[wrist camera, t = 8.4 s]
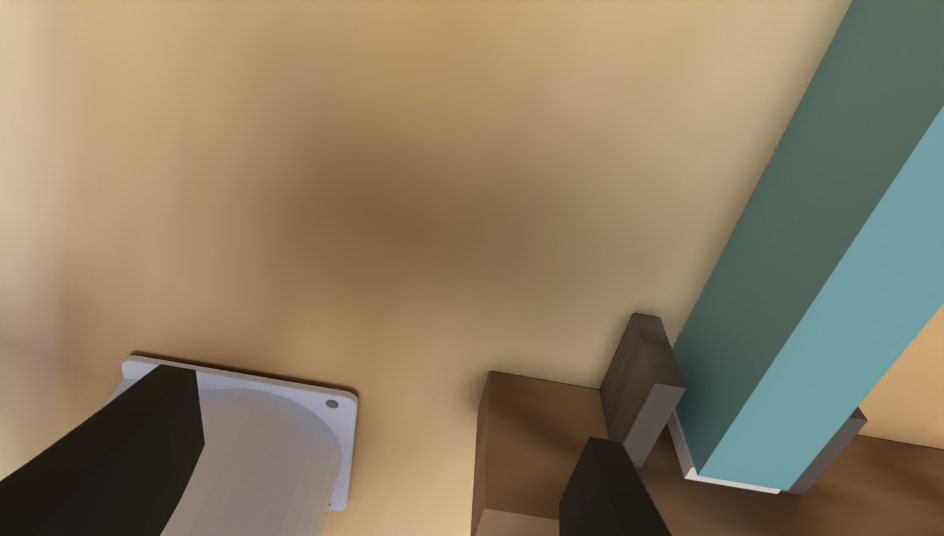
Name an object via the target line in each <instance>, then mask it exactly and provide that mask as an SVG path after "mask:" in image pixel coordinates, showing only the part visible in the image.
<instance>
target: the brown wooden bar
mask: <svg viewBox="0 0 944 536" xmlns="http://www.w3.org/2000/svg"><path fill="white" fill-rule="evenodd" d="M685 389H686V387H685V385H684V382H683V379H682V376H681V374H680V371H679V368H678V366H677V363H676V360H675V357H674V355H673V352H672V349H671V346H670V344H669V341H668V338H667V336H666V333H665V330H664V327H663V325H662V322H661V319H660V318H656V317H651V316H645V315H640V314H635V313H633V316H632V318H631V320H630V322H629V325H628V327H627V329H626V331H625V334H624V336H623V338H622V340H621V343H620V345H619V347H618V349H617V352H616V354H615V356H614V358H613V361H612V363H611V365H610V367H609V370H608V372H607V374H606V376H605V379H604V381H603V383H602V385H601V388H600V390H596V389H590V388H585V387H579V386H573V385H567V384H562V383H556V382H550V381H545V380H539V379H533V378H527V377H522V376H516V375H510V374H504V373H499V372H493V371H489V375H488V379H487V382H486V386H485V389H484V393H483V396H482V400H481V403H480V407H479V411H478V418H477V435H476V452H475V469H474V486H473V504H472V521H471V536H559V502H560V499H561V497H562V495H563V493H564V491H565V489H566V486H567V484H568V482H569V480H570V478H571V476H572V473H573V471H574V469H575V467H576V465H577V463H578V460H579V458H580V456H581V454H582V452H583V450H584V447H585V445H586V443H587V441H588V439H589V437H594V438H600V439H606V440H612V441H618V442H622V444H623V445H624V447H625V449H626V450H627V452H628V454H629V456H630V458H631V460H632V462H633V464H634V466H635V468H636V470H637V472H638V474H639V475H640V477H641V479H642V481H643V483H644V485H645V487H646V489H647V491H648V493H649V494H650V496H651V498H652V500H653V502H654V504H655V506H656V507H657V509H658V511H659V513H660V515H661V517H662V518H663V520H664V522H665V524H666V526H667V527H668V529H669V531H670V533H671V535H672V536H944V450H939V449H934V448H928V447H922V446H916V445H911V444H905V443H899V442H894V441H888V440H882V439H876V438H871V437H865V436H859V435H856V434H857V433H858V431H859V430H860V429H861V428H862V427H863V426H864V424H865V423H866V422H867V421H868V420H867V419H866V417H865V416H864V415H863V413H862V412H861V410H860V409H859V407H857V408H856V409H855V410H854V411H853V413H852V414H851V415H850V416H849V417H848V419H847V420H846V421H845V422H844V423H843V425H842V426H841V427H840V428H839V430H838V431H837V432H836V433H835V434H834V436H833V437H832V438H831V439H830V440H829V442H828V443H827V444H826V445H825V446H824V448H823V449H822V450H821V451H820V452H819V454H818V455H817V456H816V457H815V458H814V460H813V461H812V462H811V463H810V464H809V466H808V467H807V468H806V469H805V470H804V472H803V473H802V474H801V475H800V476H799V478H798V479H797V480H796V481H795V482H794V484H793V485H792V486H791V487H790V488H789V490H788V491H786V490H781V491H780V492H779V493H778V494H774V493H768V492H762V491H756V490H750V489H744V488H738V487H732V486H726V485H720V484H714V483H708V482H702V481H696V480H690V479H684V475H683V472H682V469H681V466H680V462H679V459H678V456H677V453H676V449H675V446H674V443H673V440H672V436H671V433H670V430H669V427H668V423H667V421H668V419H669V418H670V416H671V414H672V412H673V411H674V409H675V407H676V405H677V403H678V402H679V400H680V398H681V396H682V395H683V393H684V391H685Z"/></svg>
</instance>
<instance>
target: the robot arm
mask: <svg viewBox="0 0 944 536" xmlns="http://www.w3.org/2000/svg"><path fill="white" fill-rule="evenodd" d="M121 369H122V373H123V377H124V379H123V380H122V381H121V383H120V384H119V385H118V386H117V388H116V389H115V390H114V391H113V393H112V394H111V395H110V396H109V398H108V399H107V400H106V401H105V402H104V404H103V405H102V406H101V407H100V409H99V410H98V411H97V412H96V413H95V414H94V415H92V416H91V417H90V418H88V419H87V420H86V421H84V422H83V423H82V424H80V425H79V426H77V427H76V428H75V429H73V430H72V431H71V432H69V433H68V434H66V435H65V436H64V437H62V438H61V439H60V440H58V441H57V442H55V443H54V444H53V445H51V446H50V447H49V448H47V449H46V450H44V451H43V452H42V453H40V454H39V455H38V456H36V457H35V458H33V459H32V460H31V461H29V462H28V463H26V464H25V465H23V466H22V467H21V468H19V469H18V470H16V471H15V472H13V473H12V474H10V475H9V476H7V477H6V478H4V479H3V480H1V481H0V536H320V534H321V531H322V527H323V524H324V521H325V517H326V514H327V510H333V511H342V510H344V509H345V508H346V506H347V503H348V496H349V487H350V477H351V467H352V457H353V448H354V438H355V428H356V419H357V409H358V398H357V397H356V396H355V395H354V394H353V393H351V392H348V391H342V390H336V389H330V388H324V387H319V386H313V385H307V384H301V383H295V382H289V381H283V380H277V379H272V378H266V377H260V376H254V375H248V374H242V373H236V372H230V371H225V370H219V369H213V368H207V367H201V366H195V365H189V364H183V363H177V362H172V361H166V360H160V359H154V358H148V357H142V356H134V355H131V356H128V357H127V358H126V359H125V361H124V362H123V363H122V364H121ZM332 400H335V401H332ZM559 536H672V535H671V533H670V531H669V529H668V527H667V526H666V524H665V522H664V520H663V518H662V517H661V515H660V513H659V511H658V509H657V507H656V506H655V504H654V502H653V500H652V498H651V496H650V494H649V493H648V491H647V489H646V487H645V485H644V483H643V481H642V479H641V477H640V475H639V474H638V472H637V470H636V468H635V466H634V464H633V462H632V460H631V458H630V456H629V454H628V452H627V450H626V449H625V447H624V445H623V444H622V442H618V441H612V440H606V439H600V438H594V437H589V439H588V441H587V443H586V445H585V447H584V450H583V452H582V454H581V456H580V458H579V460H578V463H577V465H576V467H575V469H574V471H573V473H572V476H571V478H570V480H569V482H568V484H567V486H566V489H565V491H564V493H563V495H562V497H561V499H560V502H559Z"/></svg>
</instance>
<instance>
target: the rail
mask: <svg viewBox="0 0 944 536" xmlns="http://www.w3.org/2000/svg"><path fill="white" fill-rule="evenodd" d="M943 303H944V0H853V1H852V3H851V5H850V7H849V9H848V11H847V13H846V15H845V17H844V19H843V20H842V22H841V24H840V26H839V28H838V30H837V32H836V34H835V36H834V38H833V40H832V42H831V44H830V46H829V47H828V49H827V51H826V53H825V55H824V57H823V59H822V61H821V63H820V65H819V67H818V69H817V71H816V73H815V75H814V76H813V78H812V80H811V82H810V84H809V86H808V88H807V90H806V92H805V94H804V96H803V98H802V100H801V102H800V103H799V105H798V107H797V109H796V111H795V113H794V115H793V117H792V119H791V121H790V123H789V125H788V127H787V129H786V131H785V132H784V134H783V136H782V138H781V140H780V142H779V144H778V146H777V148H776V150H775V152H774V154H773V156H772V158H771V159H770V161H769V163H768V165H767V167H766V169H765V171H764V173H763V175H762V177H761V179H760V181H759V183H758V185H757V186H756V188H755V190H754V192H753V194H752V196H751V198H750V200H749V202H748V204H747V206H746V208H745V210H744V212H743V214H742V215H741V217H740V219H739V221H738V223H737V225H736V227H735V229H734V231H733V233H732V235H731V237H730V239H729V241H728V242H727V244H726V246H725V248H724V250H723V252H722V254H721V256H720V258H719V260H718V262H717V264H716V266H715V268H714V270H713V271H712V273H711V275H710V277H709V279H708V281H707V283H706V285H705V287H704V289H703V291H702V293H701V295H700V297H699V298H698V300H697V302H696V304H695V306H694V308H693V310H692V312H691V314H690V316H689V318H688V320H687V322H686V324H685V326H684V327H683V329H682V331H681V333H680V335H679V337H678V339H677V341H676V343H675V345H674V347H673V349H672V352H673V355H674V357H675V360H676V363H677V366H678V368H679V371H680V374H681V376H682V379H683V382H684V385H685V387H686V389H685V391H684V393H683V395H682V396H681V398H680V400H679V402H678V403H677V405H676V407H675V409H674V411H673V412H672V414H671V416H670V418H669V419H668V421H667V423H668V427H669V430H670V433H671V436H672V440H673V443H674V446H675V449H676V453H677V456H678V459H679V462H680V466H681V469H682V472H683V475H684V479H690V480H696V481H702V482H708V483H714V484H720V485H726V486H732V487H738V488H744V489H750V490H756V491H762V492H768V493H774V494H778V493H779V492H780V491H781V490H786V491H788V490H789V488H790V487H791V486H792V485H793V484H794V482H795V481H796V480H797V479H798V478H799V476H800V475H801V474H802V473H803V472H804V470H805V469H806V468H807V467H808V466H809V464H810V463H811V462H812V461H813V460H814V458H815V457H816V456H817V455H818V454H819V452H820V451H821V450H822V449H823V448H824V446H825V445H826V444H827V443H828V442H829V440H830V439H831V438H832V437H833V436H834V434H835V433H836V432H837V431H838V430H839V428H840V427H841V426H842V425H843V423H844V422H845V421H846V420H847V419H848V417H849V416H850V415H851V414H852V413H853V411H854V410H855V409H856V408H857V407H858V405H859V404H860V403H861V402H862V401H863V399H864V398H865V397H866V396H867V395H868V393H869V392H870V391H871V390H872V389H873V387H874V386H875V385H876V384H877V383H878V381H879V380H880V379H881V378H882V377H883V375H884V374H885V373H886V372H887V371H888V369H889V368H890V367H891V366H892V365H893V363H894V362H895V361H896V360H897V359H898V357H899V356H900V355H901V354H902V353H903V351H904V350H905V349H906V348H907V346H908V345H909V344H910V343H911V342H912V340H913V339H914V338H915V337H916V336H917V334H918V333H919V332H920V331H921V330H922V328H923V327H924V326H925V325H926V324H927V322H928V321H929V320H930V319H931V318H932V316H933V315H934V314H935V313H936V312H937V310H938V309H939V308H940V307H941V306H942V304H943Z"/></svg>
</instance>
